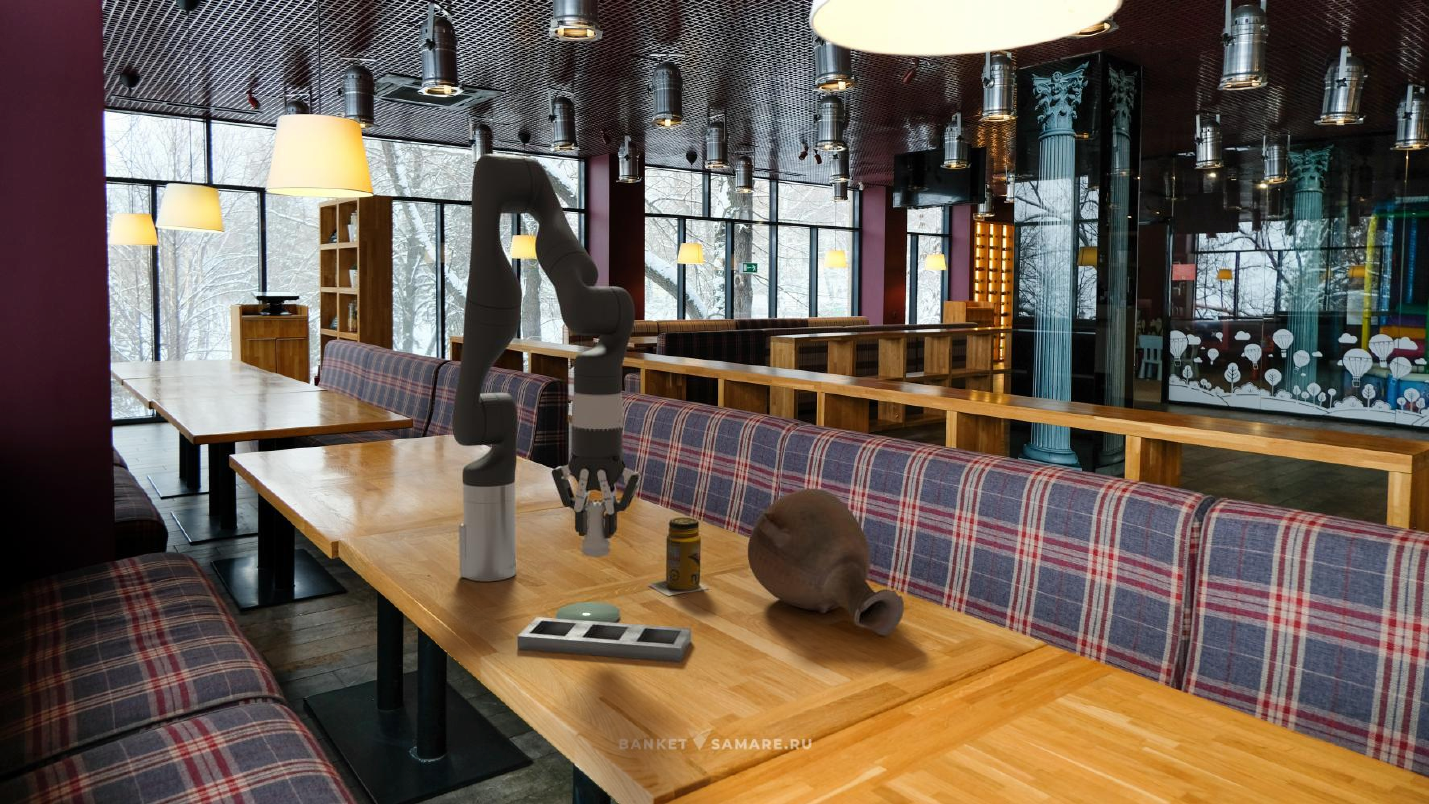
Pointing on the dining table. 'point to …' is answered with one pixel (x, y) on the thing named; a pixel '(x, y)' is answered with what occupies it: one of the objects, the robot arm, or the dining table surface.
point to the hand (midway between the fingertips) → (596, 535)
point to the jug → (819, 559)
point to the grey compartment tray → (584, 643)
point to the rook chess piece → (595, 530)
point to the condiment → (682, 558)
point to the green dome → (589, 612)
